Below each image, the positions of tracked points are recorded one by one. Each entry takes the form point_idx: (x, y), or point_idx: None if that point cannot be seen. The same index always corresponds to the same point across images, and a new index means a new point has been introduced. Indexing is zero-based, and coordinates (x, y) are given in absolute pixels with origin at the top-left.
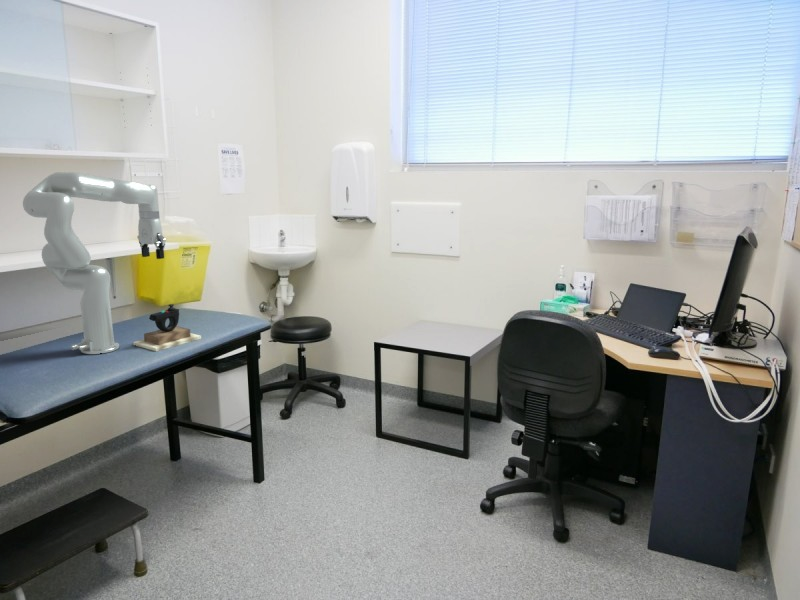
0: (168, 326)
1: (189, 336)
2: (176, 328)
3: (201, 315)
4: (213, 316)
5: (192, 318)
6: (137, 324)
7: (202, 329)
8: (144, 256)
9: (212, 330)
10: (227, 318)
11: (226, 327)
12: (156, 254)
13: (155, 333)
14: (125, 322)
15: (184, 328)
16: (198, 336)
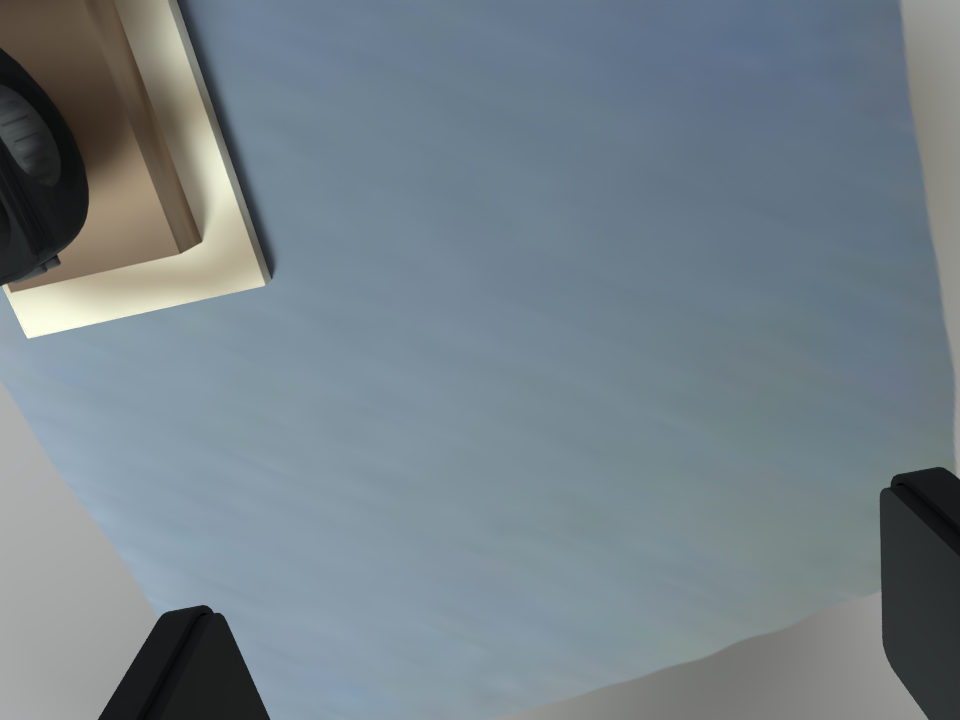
0: (52, 159)
1: None
2: (89, 224)
3: (636, 577)
4: (551, 615)
5: (604, 506)
6: (748, 150)
7: (271, 433)
8: (882, 519)
9: (205, 466)
10: (438, 648)
11: (225, 554)
12: (125, 708)
13: (13, 22)
14: (891, 98)
15: (54, 270)
16: (17, 317)
